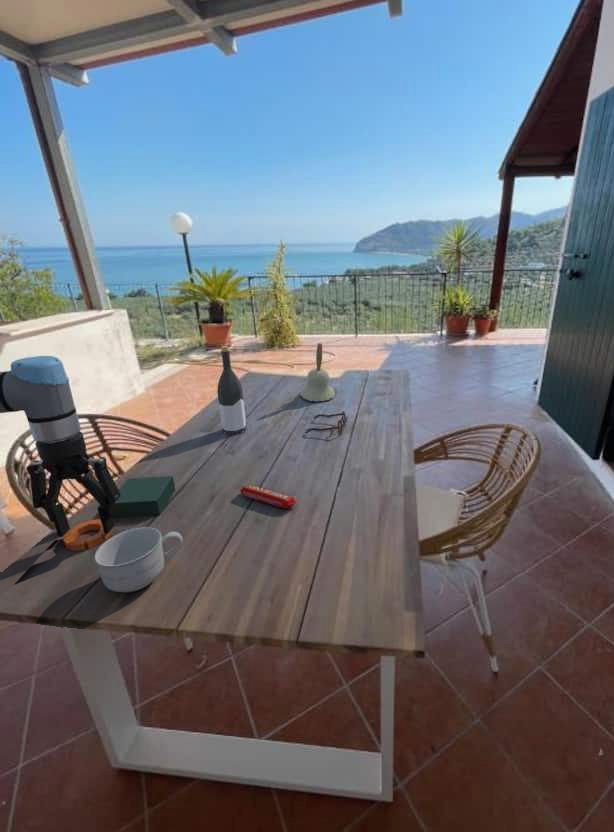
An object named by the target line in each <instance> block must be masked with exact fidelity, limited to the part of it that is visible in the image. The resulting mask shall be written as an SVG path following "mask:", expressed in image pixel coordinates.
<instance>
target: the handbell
mask: <svg viewBox="0 0 614 832" xmlns="http://www.w3.org/2000/svg"><path fill="white" fill-rule="evenodd" d="M315 361H316V367H313V368H312V369H310V370H309V371H308V373H307V378H306V379H307V383H306V385H304V386H303V387H301V389H300V391H299V394H300V397H301V398H303V399H304V400H306V401H308V400H309V401H308V402H312V401H322V400H327V399H330V398H332V399H334V397H335V396H336V392H335V389H334V388H332V387H331V386H330V374H329V372H328V371H327V370H325V369H324V368H322V363H323V344H322V343H321V342H318V343H317V345H316V352H315Z"/></svg>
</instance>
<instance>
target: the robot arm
mask: <svg viewBox="0 0 614 832" xmlns="http://www.w3.org/2000/svg"><path fill="white" fill-rule="evenodd" d="M72 393H73V392H72V390H71V385H70V380H69V377H68V375H67V372H66V369H65V366H64V364H63V361H62V360H61V359H60V358H59V357H56V356H53V355H37V356H29V357H23V358H19V359H16V360H13V361H12V362H11V363H10V370H7V371H6V370H5V371H0V414H5V413H6V414H7V413H15V412H22V411H23V412H24V414H25V416H26V419H27V422H28V427H29V430H30V433H31V437H32V438H33V440H34V441H35V444H34V445H35V447H36V451H37V455H38V457H39V459H40V460H41V461H40V460H37V459H36V460H34V461H33V462H32V463H30V464H29V465H27V466H26V468H25V469H26V471H27V473H28V475H29V477H30V487H31V497H32V499H31V500H32V507H33V508H34V509H40V508H41V509H43V510H45V511H46V514H47V517H48V519H49V522H50V523H53V524H54V527H55V530H56V533H57V536H58V538H63V537H64V536H65V535H66V533H67V532H68V531H69V530H70V529H71V527H70V524H69V521H68V518H67V514H66V511H65V508H64V504H63V503H62V502H60V503H58V502H59V501H60V499H59V498H60V493H61V489H62V485H63V481H65V480H75V481H76V483H78V484H81V485H82V486H83V487H84V488H85V489H86V491H88V493H89V494H90V495H91V496H92V497H93V498H94V499H95V500H96V502H97V503H98V504H99V505H98V507H97V508H96V509H97V512H98V516H99V519H101V523H102V527H103V530H104V534H108V533H109V532H110V530H111V529H112V530H113V528H114V527H115V523H114V518H112V516H113V515H114V508H113V503H115V502H116V501H117V499H118V498H119V497H120V495H121V494H120V492H119V488H118V487H117V484H116V482H115V480H114V478H113V476H112V474H111V472H110V470H109V468H108V466H107V458H106V456H100V457H99V458H92V457H91V456H90V455H89V454H88V453H87V445H86V441H85V438H84V434H83V432H82V431H81V430H82V427H81V423H80V420H79V416H78V412H77V408H76V405H75V402H74V398H73V394H72ZM90 467H91V468H90ZM46 471H47V472H48V473H49V474H50V475H49V479H48V488H47V478H46Z"/></svg>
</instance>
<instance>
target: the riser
mask: <svg viewBox="0 0 614 832" xmlns="http://www.w3.org/2000/svg"><path fill="white" fill-rule="evenodd" d="M118 490H119V492H120V494H121V495H120V497H119V498H118V499H117V501H116V502H115V503H113V508H114V515H113V516H112V519H119V518H135V517H149V516H160V515H161V514H162V512H163V510H164V509H165V507H166V506H167V504H168V502H169V500H170V499H171V497H172V495H173V494H174V492H175V491H176V486H175V479H174V475H168V476H167V475H166V476H148V477H133V478H130V477H129V478H127V479H126V480H125V481H124V483H123V484H122V485H121V486H120V487H119V488H118Z"/></svg>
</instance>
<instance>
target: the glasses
mask: <svg viewBox="0 0 614 832" xmlns="http://www.w3.org/2000/svg"><path fill="white" fill-rule="evenodd" d="M338 416H339V417H340V416H341V418H340V419H339V420H337V426H332V427H324V428H317V427H311V428H309V429H308V430H306V431H305V432H304V433H307V434H308V433H309V432H311V431H319V432H322V431H330V430H336V429H337V430H338V433H339V435H342V434H343V425H346V424H347V416H346V412H345V411H343V410H342V411H341V413H334V414H323V413H321V414H319V413H318V414H317V415H315V416H314V417H313V419H315V420H316V419H318V417H325V418H331V417H338ZM342 423H343V424H342ZM345 423H346V424H345ZM341 433H342V434H341Z"/></svg>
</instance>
